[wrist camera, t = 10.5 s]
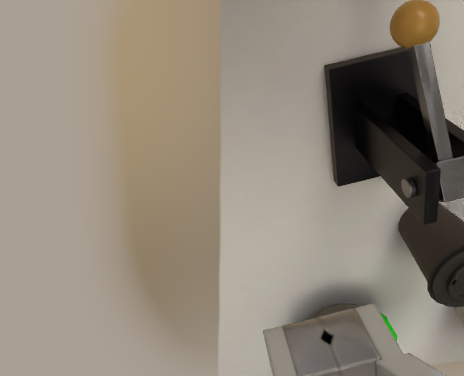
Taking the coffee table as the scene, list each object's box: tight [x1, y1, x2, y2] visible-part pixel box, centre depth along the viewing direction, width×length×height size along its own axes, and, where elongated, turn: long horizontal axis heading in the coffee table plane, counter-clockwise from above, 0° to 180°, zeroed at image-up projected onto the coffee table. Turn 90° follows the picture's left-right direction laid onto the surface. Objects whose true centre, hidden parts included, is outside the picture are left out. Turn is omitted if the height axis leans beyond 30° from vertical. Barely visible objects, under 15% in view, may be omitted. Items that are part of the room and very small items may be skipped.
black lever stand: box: [325, 45, 464, 225], centre depth 35 cm, size 12×9×14 cm
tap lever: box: [390, 0, 464, 202], centre depth 31 cm, size 14×3×3 cm, turn 11°
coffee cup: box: [399, 204, 464, 307], centre depth 45 cm, size 8×8×10 cm
